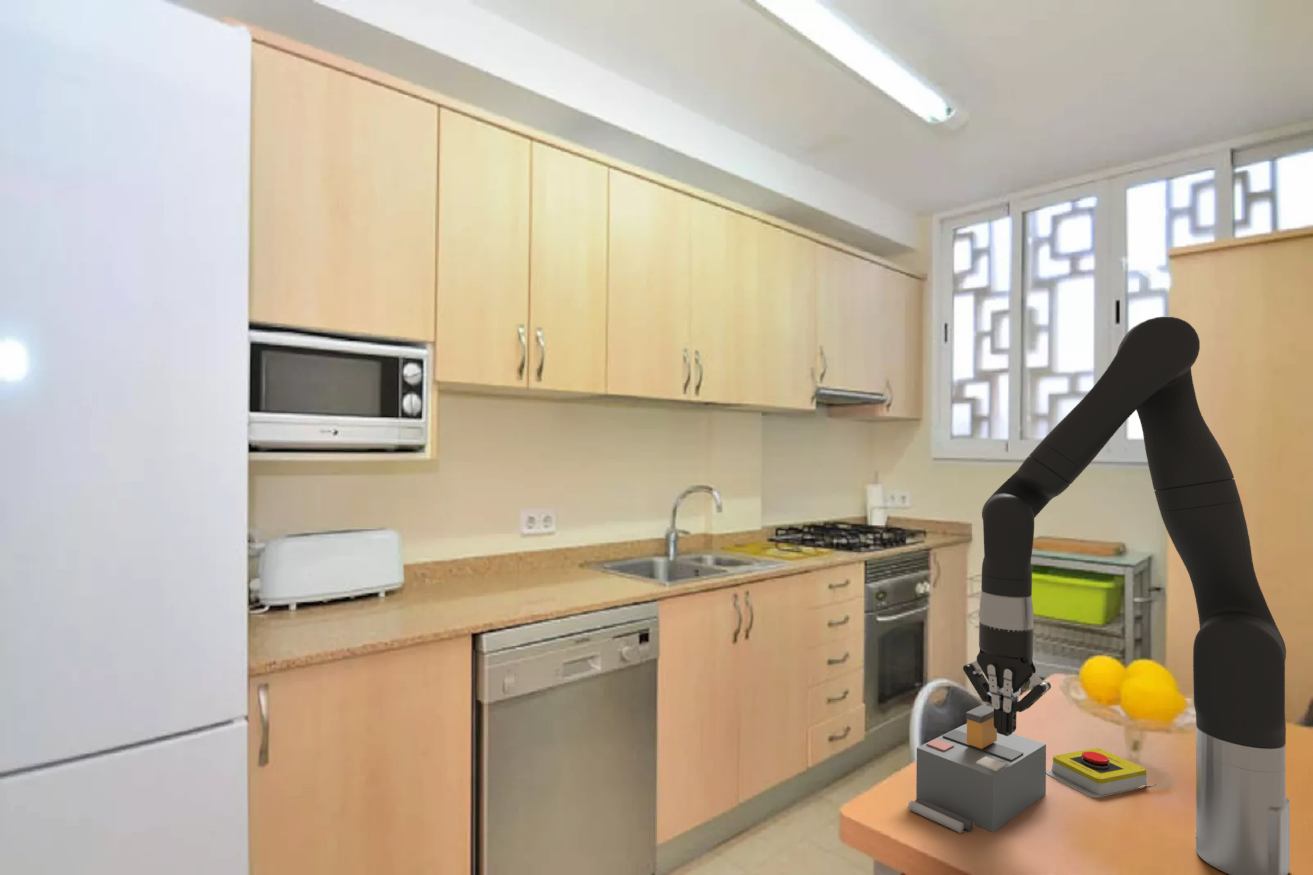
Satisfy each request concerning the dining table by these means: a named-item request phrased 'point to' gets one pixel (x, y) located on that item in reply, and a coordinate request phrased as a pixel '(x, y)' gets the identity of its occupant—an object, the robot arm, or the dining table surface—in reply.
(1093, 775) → the emergency button
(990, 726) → the breaker handle
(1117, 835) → the dining table surface
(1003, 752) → the breaker box
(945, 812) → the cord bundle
